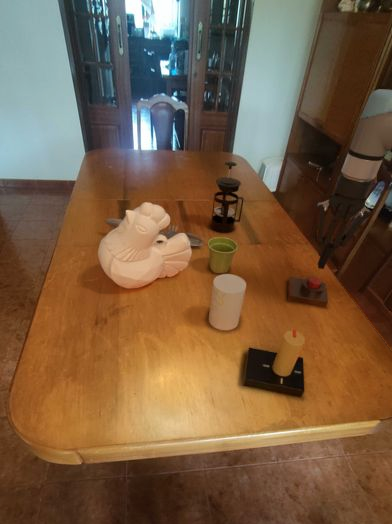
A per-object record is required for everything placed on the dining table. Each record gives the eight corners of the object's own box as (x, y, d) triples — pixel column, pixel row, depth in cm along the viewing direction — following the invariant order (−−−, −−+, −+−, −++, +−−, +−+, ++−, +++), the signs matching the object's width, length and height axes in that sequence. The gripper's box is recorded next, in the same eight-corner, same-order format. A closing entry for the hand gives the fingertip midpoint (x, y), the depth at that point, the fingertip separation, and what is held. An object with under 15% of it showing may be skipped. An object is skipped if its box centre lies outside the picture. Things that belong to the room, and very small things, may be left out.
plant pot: (237, 266, 106) (242, 242, 100) (227, 280, 100) (231, 255, 93) (211, 258, 108) (214, 234, 102) (200, 271, 102) (202, 246, 96)
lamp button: (318, 283, 96) (320, 278, 94) (319, 289, 93) (321, 284, 92) (306, 281, 96) (308, 276, 95) (307, 287, 93) (309, 282, 92)
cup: (207, 310, 89) (211, 273, 80) (235, 310, 90) (243, 274, 81) (210, 330, 83) (215, 293, 74) (240, 330, 84) (249, 293, 75)
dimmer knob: (291, 378, 70) (306, 346, 63) (271, 374, 71) (284, 341, 63) (291, 363, 73) (305, 331, 66) (272, 360, 74) (284, 327, 66)
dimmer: (300, 364, 77) (303, 357, 75) (301, 397, 70) (304, 390, 68) (247, 354, 78) (249, 346, 76) (242, 385, 71) (245, 378, 69)
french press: (209, 232, 121) (215, 165, 105) (208, 221, 128) (214, 157, 111) (239, 234, 122) (251, 168, 105) (237, 223, 128) (247, 159, 112)
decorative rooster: (84, 275, 85) (135, 212, 69) (94, 237, 93) (141, 173, 78) (160, 314, 99) (216, 269, 83) (162, 277, 107) (213, 231, 92)
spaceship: (109, 208, 112) (102, 208, 104) (206, 230, 113) (205, 231, 106) (107, 231, 115) (100, 233, 108) (201, 253, 116) (200, 255, 109)
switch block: (322, 288, 100) (327, 277, 97) (325, 307, 93) (330, 296, 90) (288, 282, 101) (291, 271, 98) (288, 301, 94) (291, 290, 91)
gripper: (382, 175, 75) (342, 263, 92) (326, 167, 76) (297, 255, 93) (389, 186, 70) (345, 277, 87) (329, 177, 71) (297, 269, 88)
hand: (320, 266), depth 90 cm, fingers closed
